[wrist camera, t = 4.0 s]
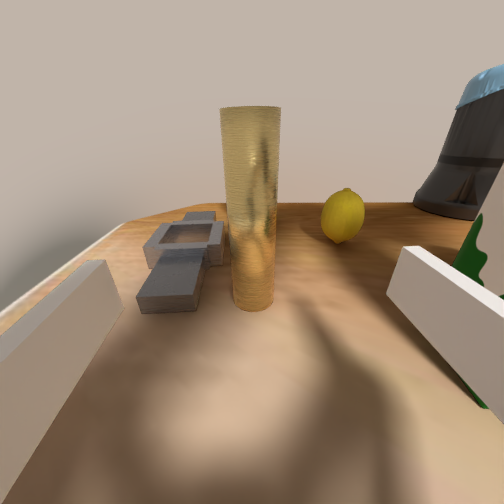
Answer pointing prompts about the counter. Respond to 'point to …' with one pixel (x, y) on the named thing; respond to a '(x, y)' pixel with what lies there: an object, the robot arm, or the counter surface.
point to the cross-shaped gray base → (180, 262)
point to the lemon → (342, 215)
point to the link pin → (251, 200)
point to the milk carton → (486, 248)
